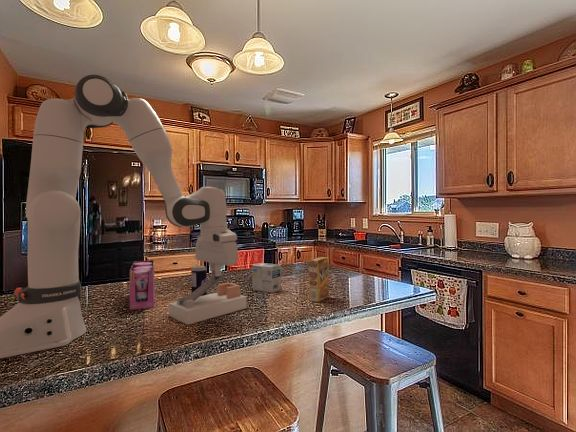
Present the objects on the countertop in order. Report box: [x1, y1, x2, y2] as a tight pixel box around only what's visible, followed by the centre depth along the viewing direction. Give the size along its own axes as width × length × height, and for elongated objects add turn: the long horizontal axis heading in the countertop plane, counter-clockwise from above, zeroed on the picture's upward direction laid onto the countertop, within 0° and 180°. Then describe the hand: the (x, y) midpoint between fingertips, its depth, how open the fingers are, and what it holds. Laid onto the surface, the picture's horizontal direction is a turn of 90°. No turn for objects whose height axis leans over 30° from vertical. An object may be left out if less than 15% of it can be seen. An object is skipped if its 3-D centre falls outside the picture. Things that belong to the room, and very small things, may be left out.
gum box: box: [129, 259, 156, 311], centre depth 122 cm, size 24×8×14 cm, turn 22°
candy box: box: [308, 256, 330, 303], centre depth 123 cm, size 9×4×15 cm, turn 147°
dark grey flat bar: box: [180, 272, 227, 306], centre depth 107 cm, size 16×4×1 cm, turn 135°
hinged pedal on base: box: [168, 282, 247, 325], centre depth 108 cm, size 22×12×8 cm, turn 136°
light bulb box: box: [251, 262, 282, 294], centre depth 137 cm, size 11×7×11 cm, turn 58°
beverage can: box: [190, 265, 208, 296], centre depth 126 cm, size 6×6×12 cm
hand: (216, 275), depth 110 cm, fingers closed, pressing on dark grey flat bar
